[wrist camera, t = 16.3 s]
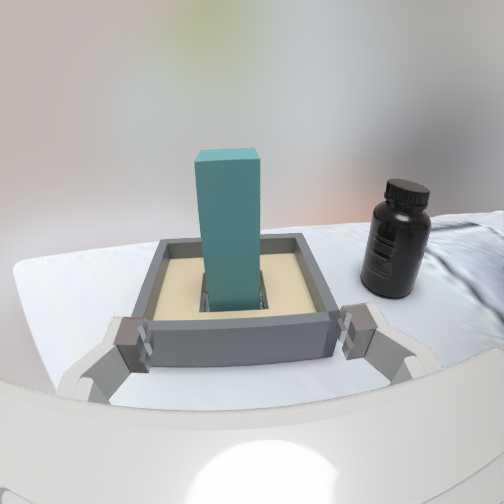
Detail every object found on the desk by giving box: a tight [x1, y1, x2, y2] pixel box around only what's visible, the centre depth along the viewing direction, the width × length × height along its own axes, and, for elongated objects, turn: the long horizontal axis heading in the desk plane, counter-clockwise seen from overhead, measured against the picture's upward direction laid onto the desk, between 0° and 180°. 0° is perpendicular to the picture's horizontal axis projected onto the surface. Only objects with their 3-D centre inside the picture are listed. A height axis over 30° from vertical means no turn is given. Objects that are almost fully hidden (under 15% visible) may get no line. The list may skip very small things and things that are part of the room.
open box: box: [131, 233, 341, 367], centre depth 27 cm, size 16×14×4 cm
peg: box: [195, 148, 260, 312], centre depth 24 cm, size 4×4×15 cm
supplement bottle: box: [361, 179, 431, 298], centre depth 28 cm, size 7×7×12 cm
